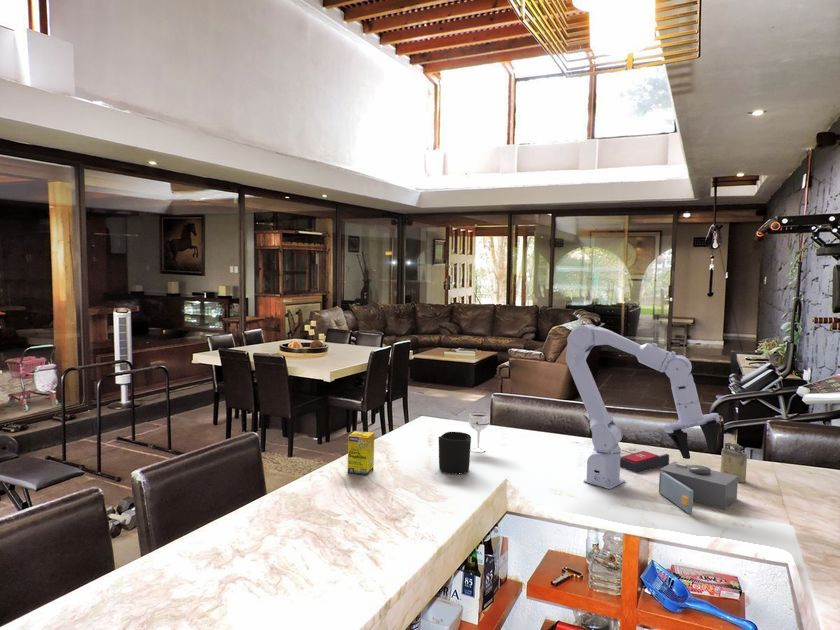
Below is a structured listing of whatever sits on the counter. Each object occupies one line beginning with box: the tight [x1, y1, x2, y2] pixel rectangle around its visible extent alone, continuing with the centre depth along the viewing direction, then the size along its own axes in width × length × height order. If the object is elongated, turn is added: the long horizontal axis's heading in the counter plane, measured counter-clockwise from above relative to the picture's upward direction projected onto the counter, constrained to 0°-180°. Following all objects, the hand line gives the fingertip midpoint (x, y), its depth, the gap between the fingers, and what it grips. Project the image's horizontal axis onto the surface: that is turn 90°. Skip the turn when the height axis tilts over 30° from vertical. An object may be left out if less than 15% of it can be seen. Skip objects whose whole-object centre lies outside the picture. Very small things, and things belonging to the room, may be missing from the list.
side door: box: [658, 470, 694, 514], centre depth 142 cm, size 2×14×6 cm, turn 5°
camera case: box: [659, 461, 739, 510], centre depth 148 cm, size 10×16×7 cm, turn 46°
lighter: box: [719, 442, 748, 484], centre depth 161 cm, size 7×4×10 cm, turn 28°
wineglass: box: [468, 411, 490, 451], centre depth 184 cm, size 7×7×12 cm
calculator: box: [620, 445, 670, 473], centre depth 174 cm, size 11×4×15 cm
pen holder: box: [438, 431, 472, 475], centre depth 165 cm, size 9×9×10 cm
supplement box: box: [347, 430, 375, 476], centre depth 161 cm, size 6×6×11 cm
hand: (699, 454), depth 145 cm, fingers open, 7 cm apart
